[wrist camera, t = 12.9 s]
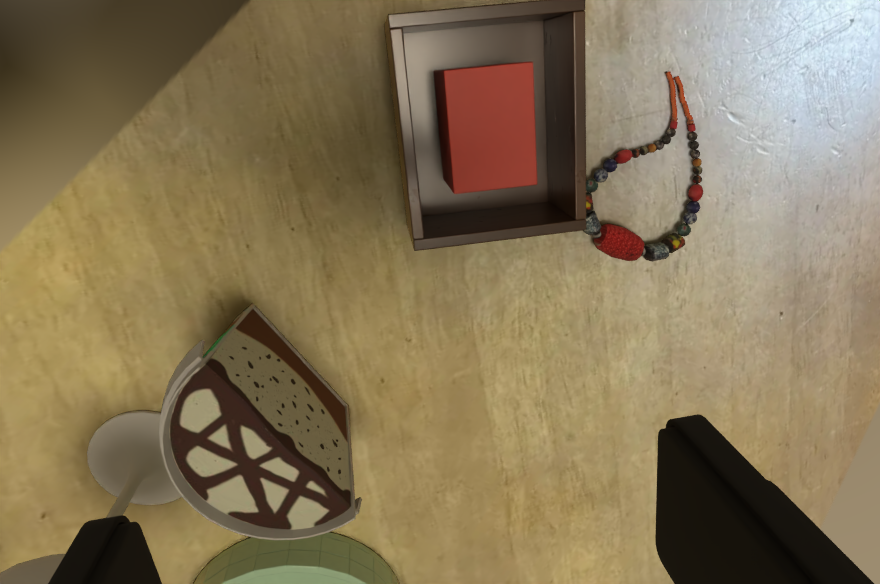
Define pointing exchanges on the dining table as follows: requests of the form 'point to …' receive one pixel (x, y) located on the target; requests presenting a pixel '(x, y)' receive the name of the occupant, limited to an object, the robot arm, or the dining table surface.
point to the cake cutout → (258, 436)
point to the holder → (556, 118)
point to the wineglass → (114, 479)
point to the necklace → (621, 239)
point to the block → (487, 126)
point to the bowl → (298, 563)
